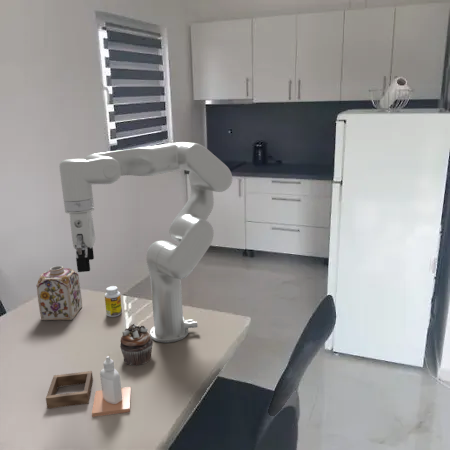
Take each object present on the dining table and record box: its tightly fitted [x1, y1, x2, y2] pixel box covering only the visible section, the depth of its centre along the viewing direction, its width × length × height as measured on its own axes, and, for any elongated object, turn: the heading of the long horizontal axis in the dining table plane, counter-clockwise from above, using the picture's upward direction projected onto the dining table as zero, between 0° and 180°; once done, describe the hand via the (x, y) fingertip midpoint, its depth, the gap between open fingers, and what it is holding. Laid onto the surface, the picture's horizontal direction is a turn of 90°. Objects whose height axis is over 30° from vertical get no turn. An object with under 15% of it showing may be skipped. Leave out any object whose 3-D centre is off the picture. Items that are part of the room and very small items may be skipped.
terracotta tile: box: [91, 386, 132, 418], centre depth 113 cm, size 9×9×1 cm
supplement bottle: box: [104, 285, 123, 318], centre depth 161 cm, size 6×6×10 cm
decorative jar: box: [36, 265, 83, 321], centre depth 162 cm, size 12×12×18 cm
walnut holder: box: [45, 370, 94, 410], centre depth 117 cm, size 10×10×3 cm
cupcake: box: [119, 323, 154, 366], centre depth 132 cm, size 10×10×10 cm
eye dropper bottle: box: [99, 355, 122, 404], centre depth 111 cm, size 4×6×12 cm
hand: (86, 265), depth 124 cm, fingers open, 9 cm apart
